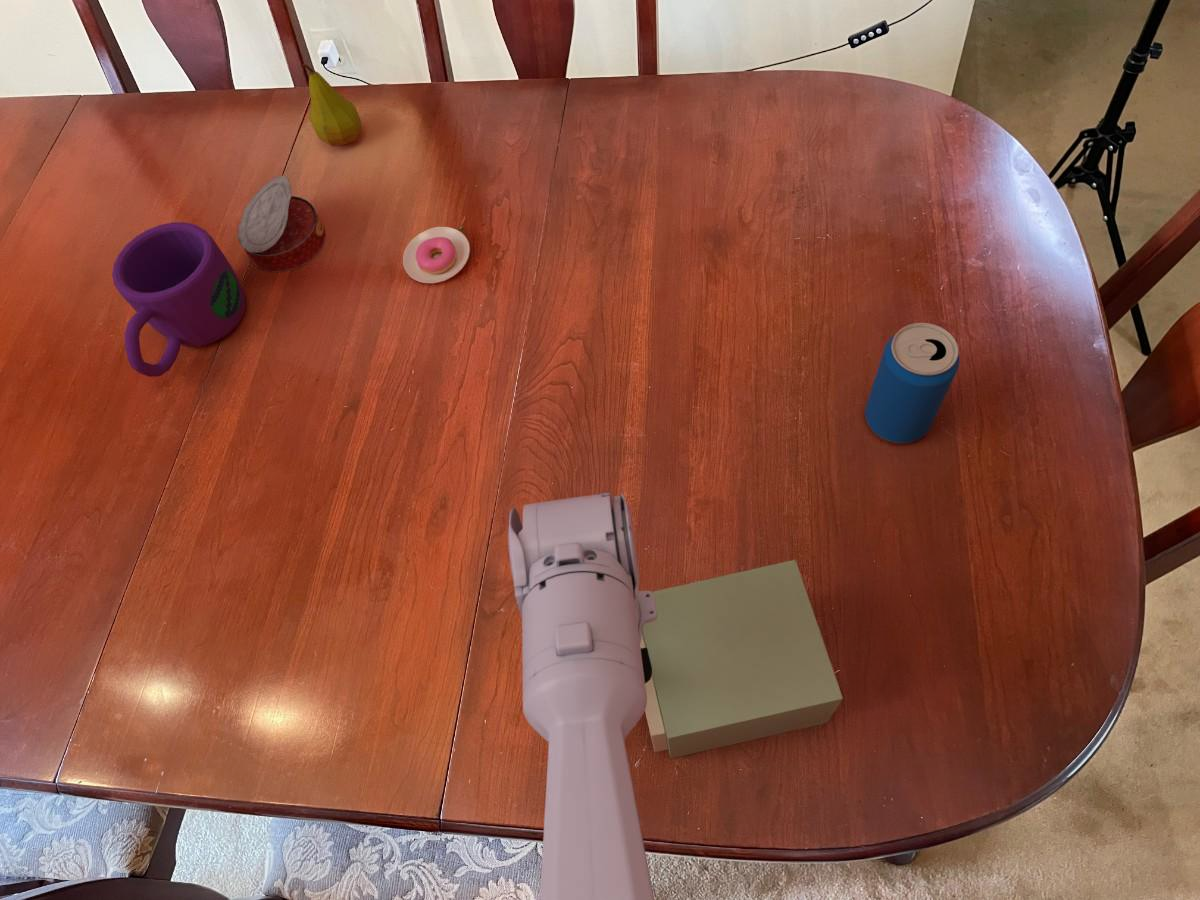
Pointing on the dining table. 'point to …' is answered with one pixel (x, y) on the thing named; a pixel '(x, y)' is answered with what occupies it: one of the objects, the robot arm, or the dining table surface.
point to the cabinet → (739, 659)
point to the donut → (436, 254)
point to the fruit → (331, 112)
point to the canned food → (280, 228)
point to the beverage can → (911, 382)
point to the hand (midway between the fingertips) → (608, 646)
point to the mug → (176, 291)
